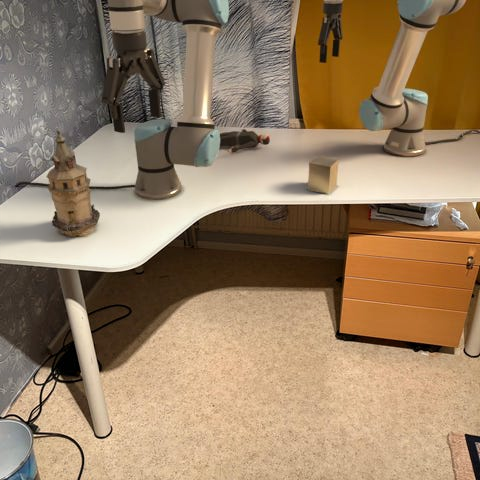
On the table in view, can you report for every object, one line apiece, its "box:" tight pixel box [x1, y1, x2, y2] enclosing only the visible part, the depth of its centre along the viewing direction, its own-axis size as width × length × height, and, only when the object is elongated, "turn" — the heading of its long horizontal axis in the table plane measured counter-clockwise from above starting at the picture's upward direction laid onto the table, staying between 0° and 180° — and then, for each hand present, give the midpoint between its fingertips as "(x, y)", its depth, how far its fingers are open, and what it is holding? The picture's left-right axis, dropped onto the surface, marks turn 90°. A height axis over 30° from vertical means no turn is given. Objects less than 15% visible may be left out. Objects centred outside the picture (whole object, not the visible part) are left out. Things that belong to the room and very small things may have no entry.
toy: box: [219, 128, 271, 155], centre depth 214 cm, size 26×6×30 cm
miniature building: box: [46, 129, 101, 237], centre depth 148 cm, size 13×14×30 cm
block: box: [307, 155, 340, 195], centre depth 176 cm, size 7×7×10 cm
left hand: (138, 124), depth 129 cm, fingers open, 13 cm apart
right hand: (329, 59), depth 216 cm, fingers open, 13 cm apart
